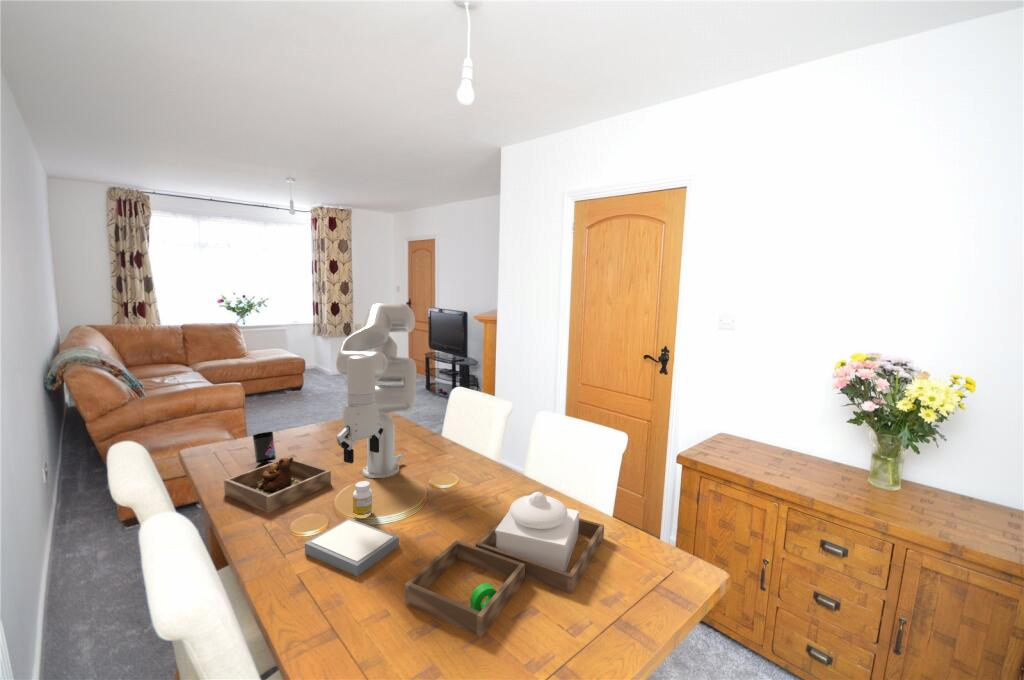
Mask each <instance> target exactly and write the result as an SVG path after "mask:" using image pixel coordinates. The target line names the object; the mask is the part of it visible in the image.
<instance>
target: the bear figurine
mask: <svg viewBox="0 0 1024 680" xmlns="http://www.w3.org/2000/svg"><path fill="white" fill-rule="evenodd" d="M288 458H289V459H288ZM288 458H287V457H284V458H283V457H282V458H280V459H278V461H279V462H278V465H277V464H272V465H270V462H268V464H269V471H270V472H269V471H265V472H264V473H263V475H262V477H263V479H262V481H258V482H257V483H256V485H255V486H256V488H254V489H255V490H258V491H261V492H263V493H266V494H269V495H271V494H273V493H275V492H278V491H280V490H282V489H285V488H287V487H290V486H292V485H294V484H297V483H299V482H300V481H299V480H296V479H297V477H294V478H292V476H291V473H290V472H291V468H290V466H291V464H292V460H293V459H294V457H292V456H290V457H288Z"/></svg>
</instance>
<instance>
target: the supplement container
mask: <svg viewBox="0 0 1024 680" xmlns="http://www.w3.org/2000/svg"><path fill="white" fill-rule="evenodd" d="M252 442H253V450H254V457H255V463H256V464H257V465H260V464H266V463H270V462H273V461H274V462H275V461H276V459H277V455H276V446H275V438H274V432H273V431H265V432H261V433H255V434H253V435H252Z"/></svg>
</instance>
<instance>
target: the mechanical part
mask: <svg viewBox="0 0 1024 680" xmlns="http://www.w3.org/2000/svg"><path fill="white" fill-rule="evenodd" d="M496 592H497V590H496V589H495V588H494V586H493V585H492V584H490V583H488V582H485V583H481V584H479V585H478V586H477V587H476V588H475V589H473V591H472V593H471V596H470V606H469V607H470V608H472V609H474V610H477V611H479V612H480V611H481V610H482V609H483V608H484V606H485V605H486V604H487V603H488V602H489V600H490V599H491V598H492V597H493V596H494V594H495V593H496ZM485 598H486V600H485V601H483V599H485ZM482 601H483V602H482Z"/></svg>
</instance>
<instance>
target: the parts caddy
mask: <svg viewBox="0 0 1024 680" xmlns="http://www.w3.org/2000/svg"><path fill="white" fill-rule="evenodd" d="M457 561H460V562H462V563H466V564H468V565H471V566H473V567H476V568H479V569H482V570H485V571H488V572H490V573H493V574H495V575H498V576H501V577H504V578H506V580H505V581H504V583H503V584H502V585H501V586H500V587H499V589H498V590H496V593H495V594H494V596H493V597H492V598H491V599H490V600H489V602H488V603H487V604H486V605H485V606H484V608H483V609H482V610H481V611H480V612H479V611H477V610H474V609H472V608H470V607H471V606H467V605H465V604H462V603H460V602H458V601H455V600H453V599H451V598H448V597H446V596H443V595H441V594H439V593H437V592H434V591H432V590H430V589H428V588H429V587H430V586H431V585H432V584H433V583H434V582H435V581H436V580H437V579H438V578H439V577H441V575H443V574H444V573H445V572H446V570H448V569H449V568H450V567H451V566H452V565H453V564H455V562H457ZM525 579H526V578H525V564H524V563H521V562H518V561H515V560H512V559H509V558H506V557H503V556H501V555H498V554H495V553H492V552H489V551H486V550H483V549H480V548H478V547H476V545H475V546H474V545H472V544H469V543H466V542H464V541H463V542H462V541H460V540H458V539H456V540H455V541H453V543H451V544H450V545H449V546H448V547H447V548H446V549H444V550H443V551H442V552H441V553H439V555H437V556H436V557H434V559H433V560H431V561H430V562H429V563H428V564H426V566H424V567H423V568H422V569H420V571H418V572H417V573H416V574H415V575H413V576H412V577H411V578H410V579H409V580H407V582H405V583H404V604H405V605H407V606H409V607H410V608H411V607H412V608H413V609H417V610H418V611H420V612H422V613H425V614H427V615H430V616H432V617H434V618H436V619H439V620H441V621H443V622H445V623H447V624H449V625H451V626H454V627H457V628H458V629H461V630H463V631H465V632H467V633H470V634H472V635H474V636H476V637H478V638H482V637H483V636H484V635H485V633H486V632H487V631H488V629H489V628H490V627H491V625H492V624H493V623H494V621H496V619H497V617H498V616H499V615H500V614H501V612H502V611H503V610H504V608H505V607H506V606H507V604H508V603H509V602H510V600H511V599H512V598H513V597H514V595H515V594H516V593H517V592H518V590H519V589H520V588H521V586H522V585H523V584H524V583H525Z"/></svg>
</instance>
